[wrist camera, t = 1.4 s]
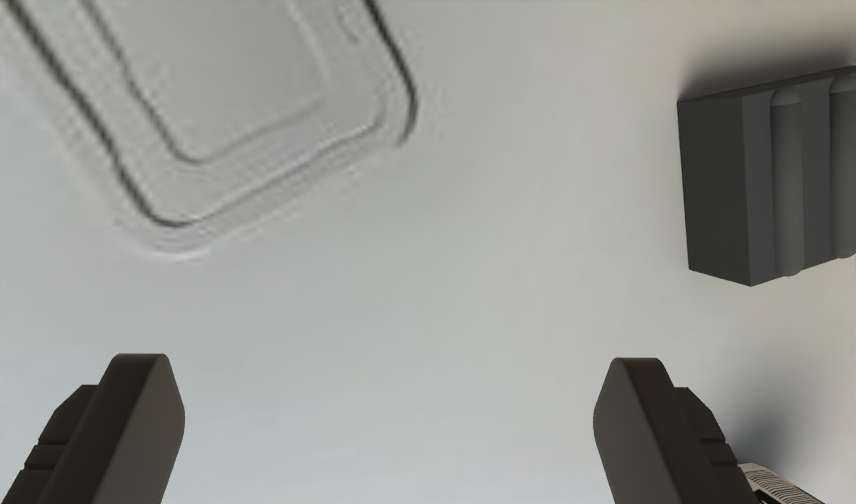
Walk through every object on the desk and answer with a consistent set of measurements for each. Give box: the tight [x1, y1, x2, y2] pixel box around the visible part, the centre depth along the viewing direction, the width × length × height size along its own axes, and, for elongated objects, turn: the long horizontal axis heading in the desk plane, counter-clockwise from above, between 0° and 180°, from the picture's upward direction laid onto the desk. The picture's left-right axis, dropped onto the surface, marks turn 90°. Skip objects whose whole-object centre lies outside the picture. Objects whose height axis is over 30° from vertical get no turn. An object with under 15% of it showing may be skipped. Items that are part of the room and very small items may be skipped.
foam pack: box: [677, 65, 856, 287], centre depth 33 cm, size 10×13×5 cm
